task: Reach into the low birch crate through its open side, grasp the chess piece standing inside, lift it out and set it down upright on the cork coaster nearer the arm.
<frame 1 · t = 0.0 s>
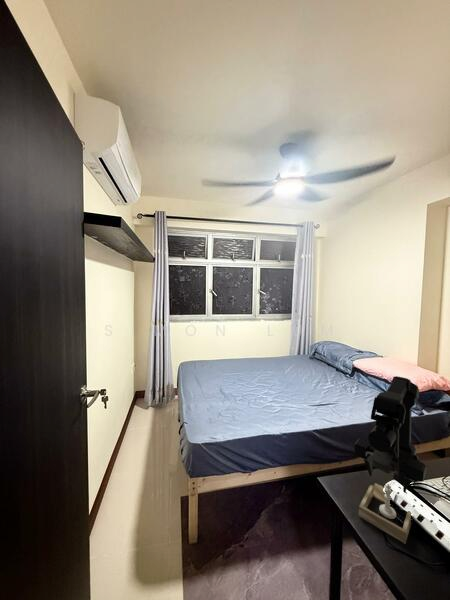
hand: (387, 483, 80), 15 cm above the table, fingers open, 9 cm apart
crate: (386, 515, 85), on the table
chess piece: (387, 512, 86), on the table
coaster: (383, 494, 93), on the table
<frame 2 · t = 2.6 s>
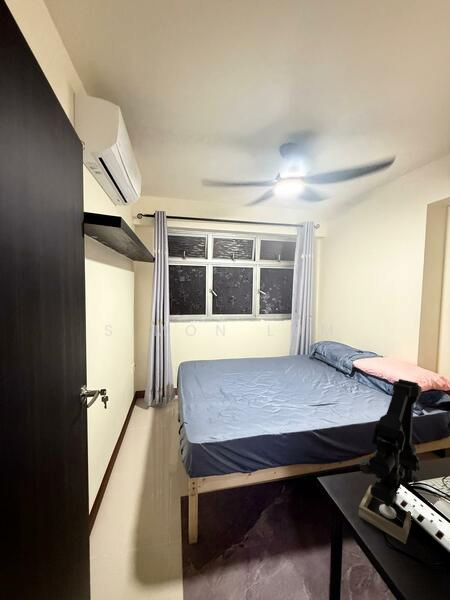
hand: (387, 503, 86), 3 cm above the table, fingers closed on chess piece
chess piece: (387, 512, 86), on the table, touching gripper
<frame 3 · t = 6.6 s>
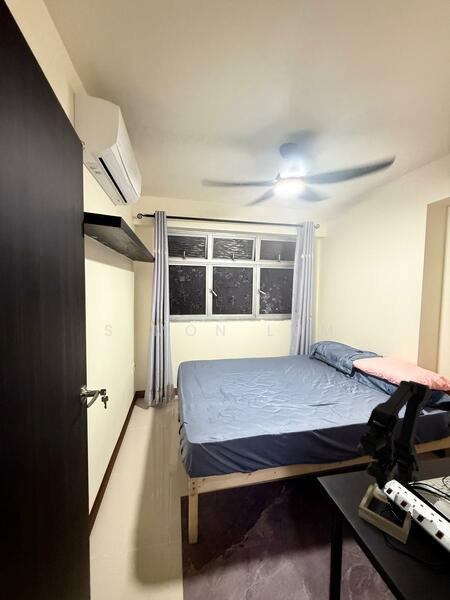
hand: (383, 483, 93), 4 cm above the table, fingers open, 7 cm apart
chess piece: (383, 493, 93), resting on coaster
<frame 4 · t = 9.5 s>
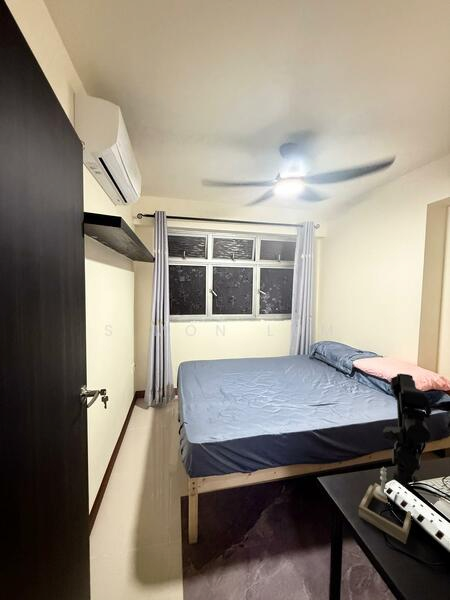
hand: (411, 469, 88), 13 cm above the table, fingers open, 9 cm apart
nothing on the table moved.
at the end: chess piece inside the target area on the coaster (0.0 cm from its centre), point 0.4 cm above the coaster's base; chess piece tilted 0°; the gripper is holding nothing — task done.
